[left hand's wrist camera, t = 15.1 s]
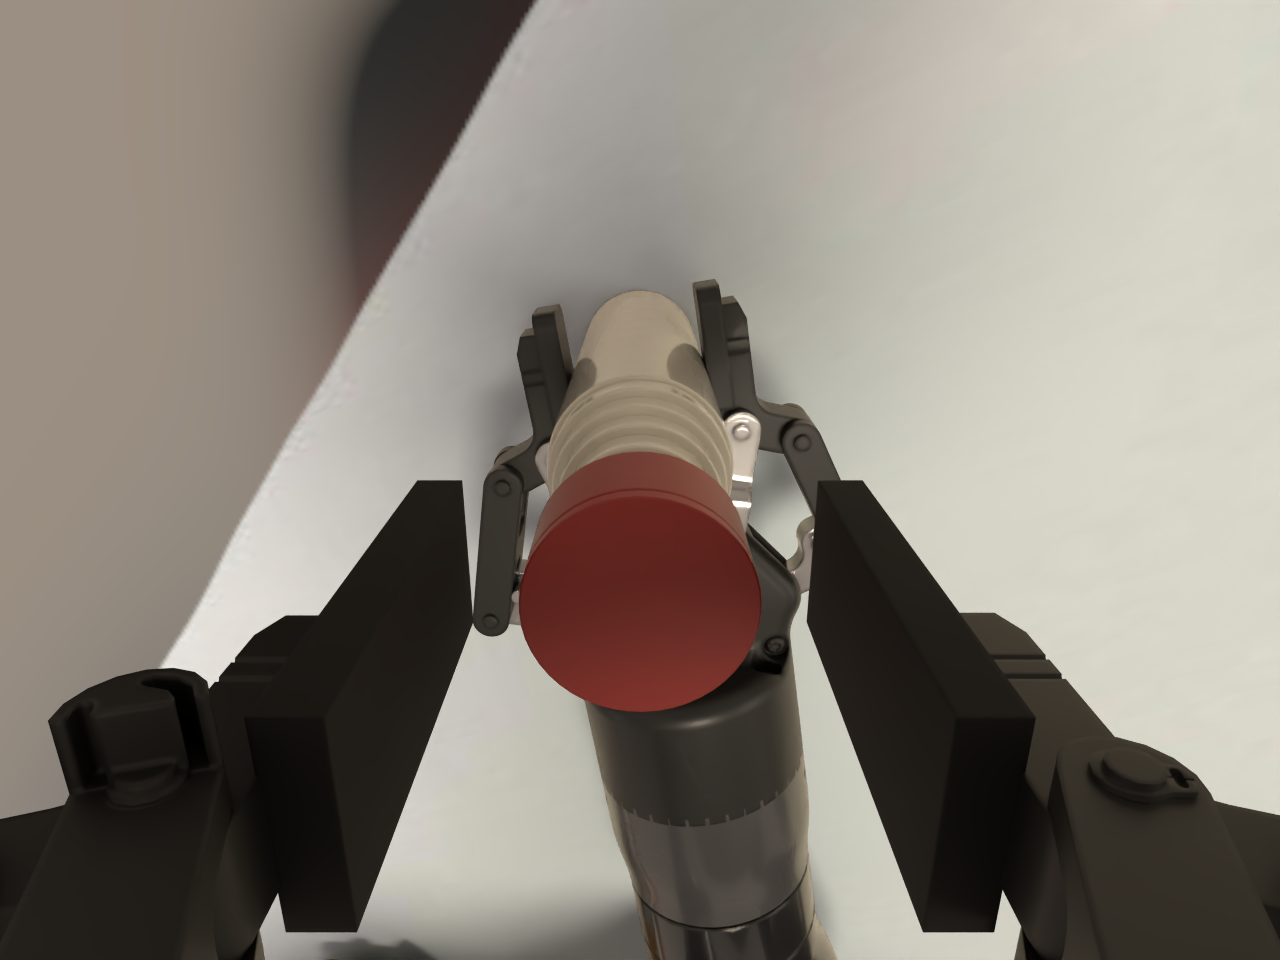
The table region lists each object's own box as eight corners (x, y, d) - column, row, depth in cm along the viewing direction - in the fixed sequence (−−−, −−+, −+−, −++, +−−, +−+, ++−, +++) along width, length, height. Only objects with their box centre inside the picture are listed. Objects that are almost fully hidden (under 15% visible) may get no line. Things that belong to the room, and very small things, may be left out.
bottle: (701, 296, 31) (797, 483, 12) (686, 404, 33) (752, 719, 14) (590, 284, 31) (513, 453, 12) (581, 392, 33) (498, 695, 14)
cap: (498, 499, 14) (475, 553, 12) (696, 416, 14) (706, 458, 12) (589, 668, 15) (582, 743, 13) (775, 597, 15) (796, 663, 13)
